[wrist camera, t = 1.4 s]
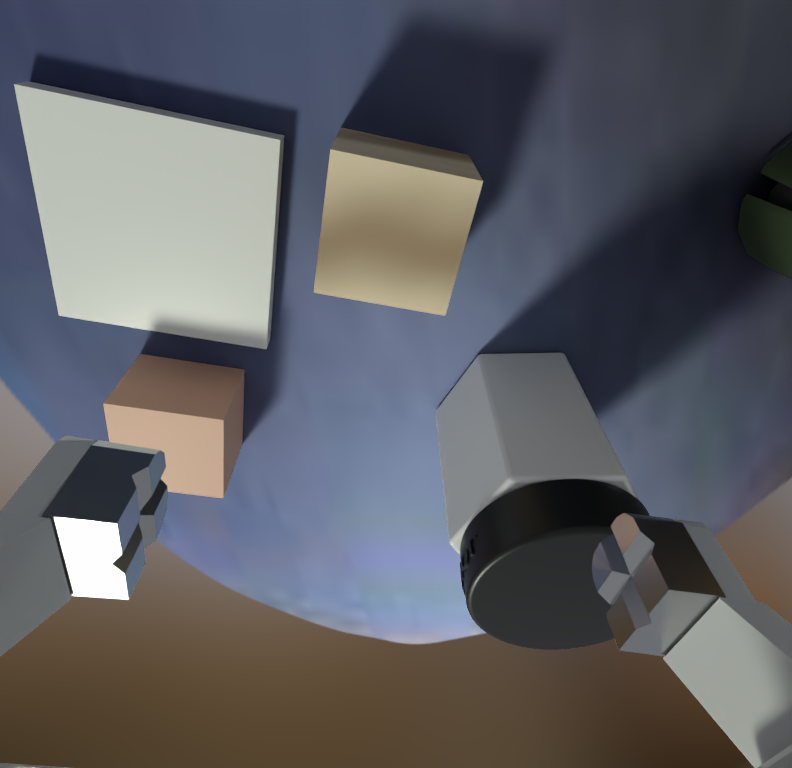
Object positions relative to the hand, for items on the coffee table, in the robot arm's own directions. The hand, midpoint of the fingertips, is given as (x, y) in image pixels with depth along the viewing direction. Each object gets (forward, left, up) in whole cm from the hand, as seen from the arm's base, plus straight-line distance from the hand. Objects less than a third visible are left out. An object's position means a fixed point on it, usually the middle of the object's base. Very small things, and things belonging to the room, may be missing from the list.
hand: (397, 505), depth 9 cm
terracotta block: (+13, -9, -18) cm, 24 cm away
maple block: (0, 0, -18) cm, 18 cm away
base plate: (+3, -10, -17) cm, 20 cm away
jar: (+10, +9, -18) cm, 22 cm away
